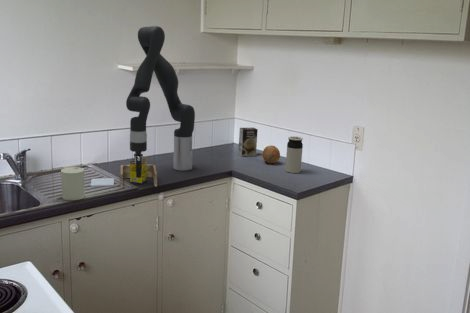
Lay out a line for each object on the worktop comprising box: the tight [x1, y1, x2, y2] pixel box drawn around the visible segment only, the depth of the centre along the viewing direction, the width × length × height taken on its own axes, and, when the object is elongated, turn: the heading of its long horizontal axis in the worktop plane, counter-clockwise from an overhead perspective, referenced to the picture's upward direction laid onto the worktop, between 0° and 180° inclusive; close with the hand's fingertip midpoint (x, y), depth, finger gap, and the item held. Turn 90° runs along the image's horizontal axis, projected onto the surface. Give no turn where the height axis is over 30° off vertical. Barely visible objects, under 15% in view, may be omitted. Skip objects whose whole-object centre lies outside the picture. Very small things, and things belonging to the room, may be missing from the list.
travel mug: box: [285, 136, 304, 174], centre depth 252 cm, size 8×8×18 cm
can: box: [60, 166, 86, 201], centre depth 199 cm, size 9×9×12 cm
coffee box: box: [237, 127, 258, 158], centre depth 281 cm, size 9×6×16 cm
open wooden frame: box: [120, 164, 158, 188], centre depth 224 cm, size 16×16×6 cm
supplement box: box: [129, 157, 148, 185], centre depth 222 cm, size 6×6×11 cm
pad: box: [90, 177, 115, 188], centre depth 220 cm, size 10×10×1 cm
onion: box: [261, 145, 281, 164], centre depth 267 cm, size 10×10×10 cm
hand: (138, 174), depth 223 cm, fingers closed on supplement box, 7 cm apart
